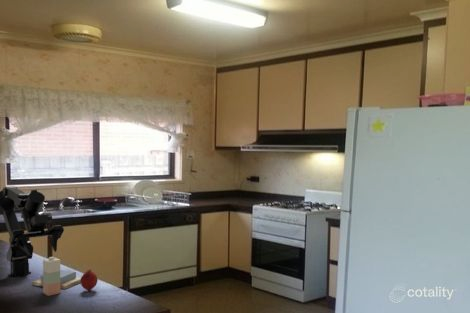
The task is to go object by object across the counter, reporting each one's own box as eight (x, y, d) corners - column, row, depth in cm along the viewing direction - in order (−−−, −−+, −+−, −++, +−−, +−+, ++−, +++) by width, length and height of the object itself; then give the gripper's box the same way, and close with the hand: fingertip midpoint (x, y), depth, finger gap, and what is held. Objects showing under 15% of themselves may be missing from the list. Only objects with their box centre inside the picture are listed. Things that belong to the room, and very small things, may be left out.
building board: (32, 285, 177) (32, 281, 177) (52, 277, 187) (52, 274, 187) (65, 288, 172) (65, 285, 172) (84, 280, 182) (84, 277, 182)
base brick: (40, 281, 177) (40, 275, 177) (56, 275, 185) (56, 269, 185) (60, 284, 174) (60, 277, 174) (76, 277, 182) (75, 271, 182)
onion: (92, 293, 167) (92, 271, 166) (77, 292, 168) (77, 270, 168) (100, 288, 172) (100, 267, 172) (85, 287, 173) (85, 266, 173)
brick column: (43, 292, 167) (43, 257, 167) (55, 290, 170) (55, 255, 170) (48, 295, 164) (47, 259, 164) (60, 293, 167) (60, 257, 167)
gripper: (11, 208, 170) (22, 243, 162) (61, 204, 182) (74, 236, 175) (4, 227, 175) (14, 262, 168) (53, 222, 188) (65, 253, 181)
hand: (43, 252), depth 172 cm, fingers open, 9 cm apart
